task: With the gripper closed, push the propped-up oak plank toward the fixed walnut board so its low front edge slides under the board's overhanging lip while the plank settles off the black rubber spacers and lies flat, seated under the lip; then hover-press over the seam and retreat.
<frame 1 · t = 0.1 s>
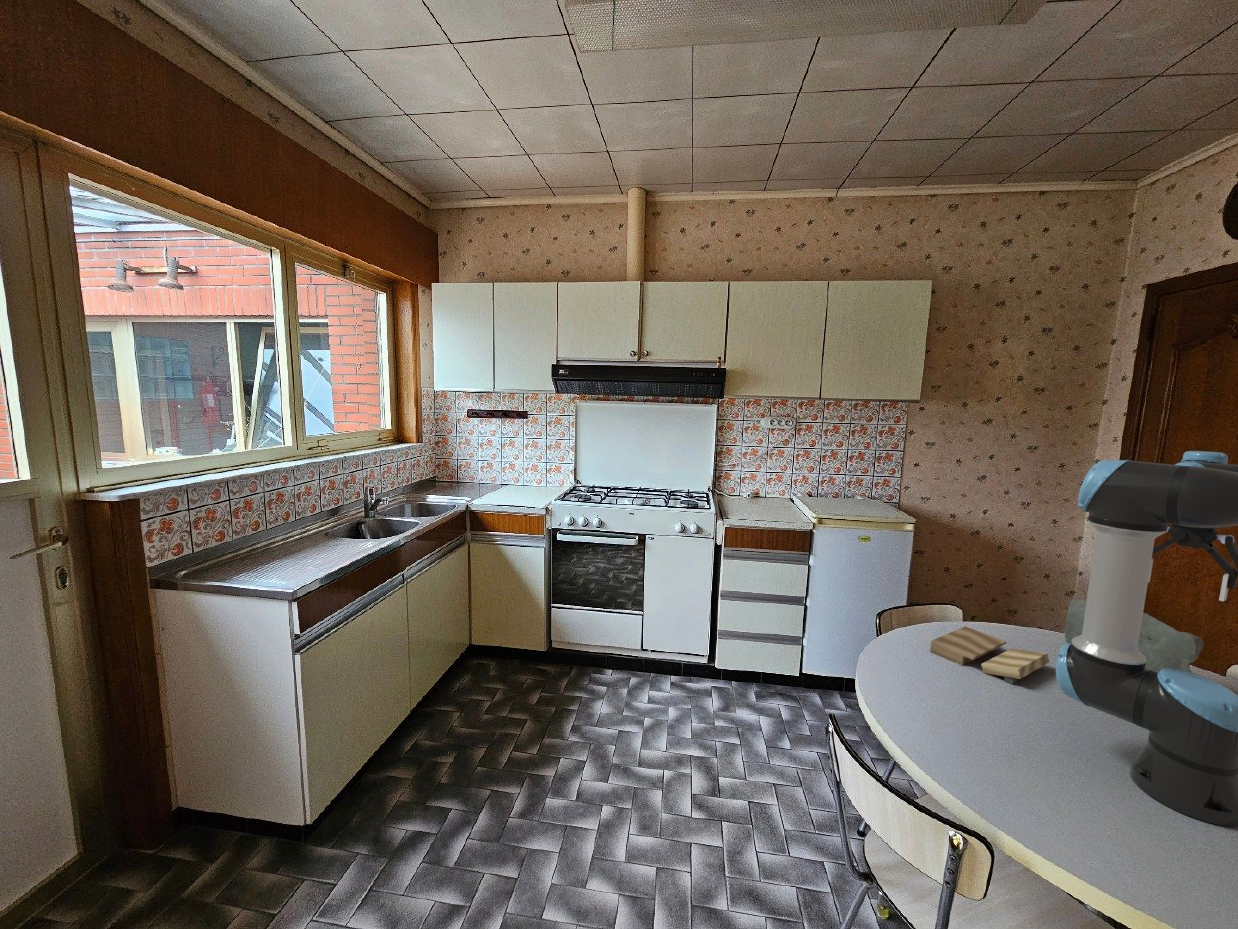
hand: (1182, 590, 131), 28 cm above the table, fingers open, 13 cm apart
rock: (1123, 674, 142), on the table
plank: (1014, 671, 143), on the table, touching spacers
spacers: (1022, 674, 141), on the table
board: (963, 650, 155), on the table
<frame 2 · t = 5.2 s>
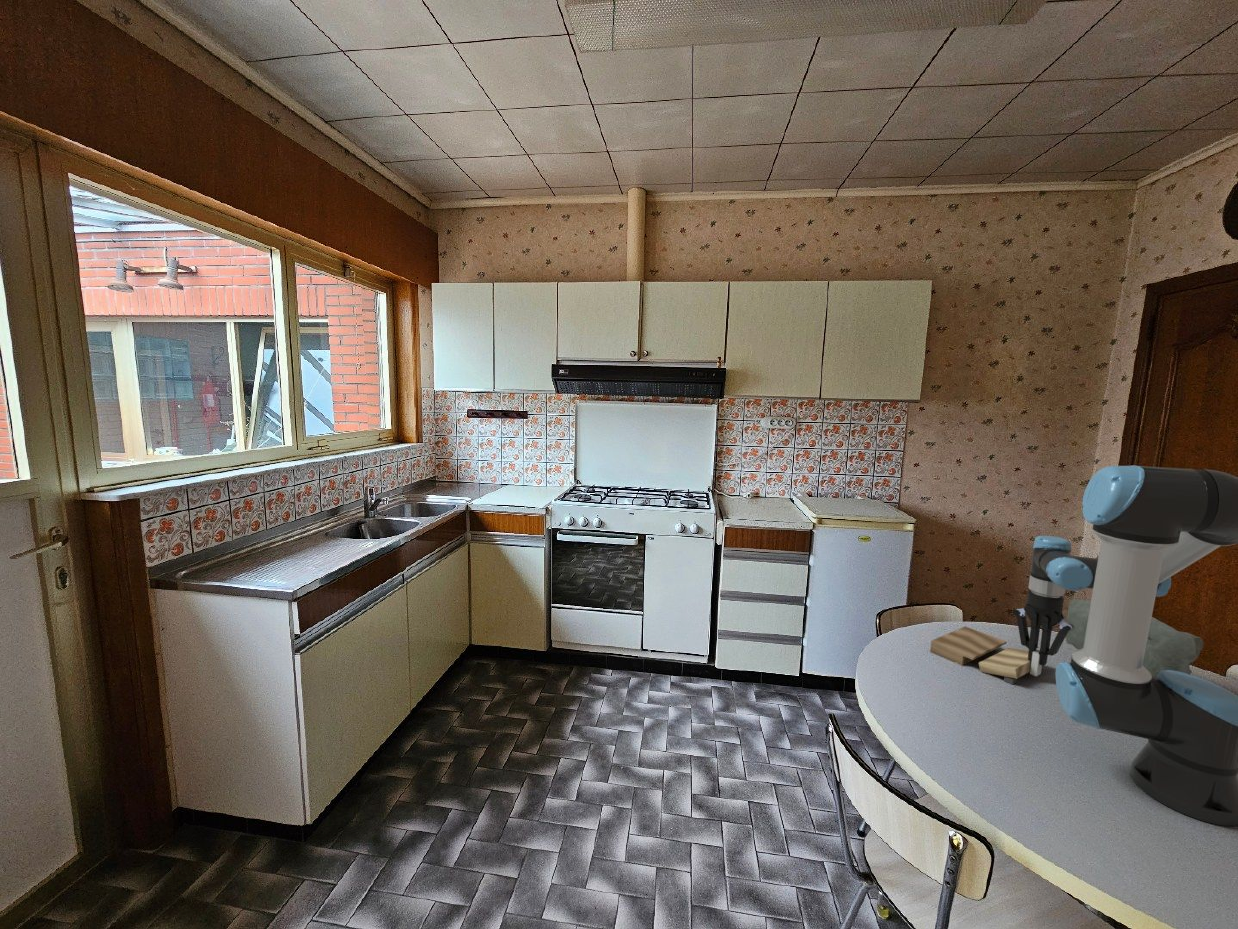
hand: (1035, 673, 139), 2 cm above the table, fingers closed
plank: (1011, 670, 144), on the table, touching gripper
everything else where it was.
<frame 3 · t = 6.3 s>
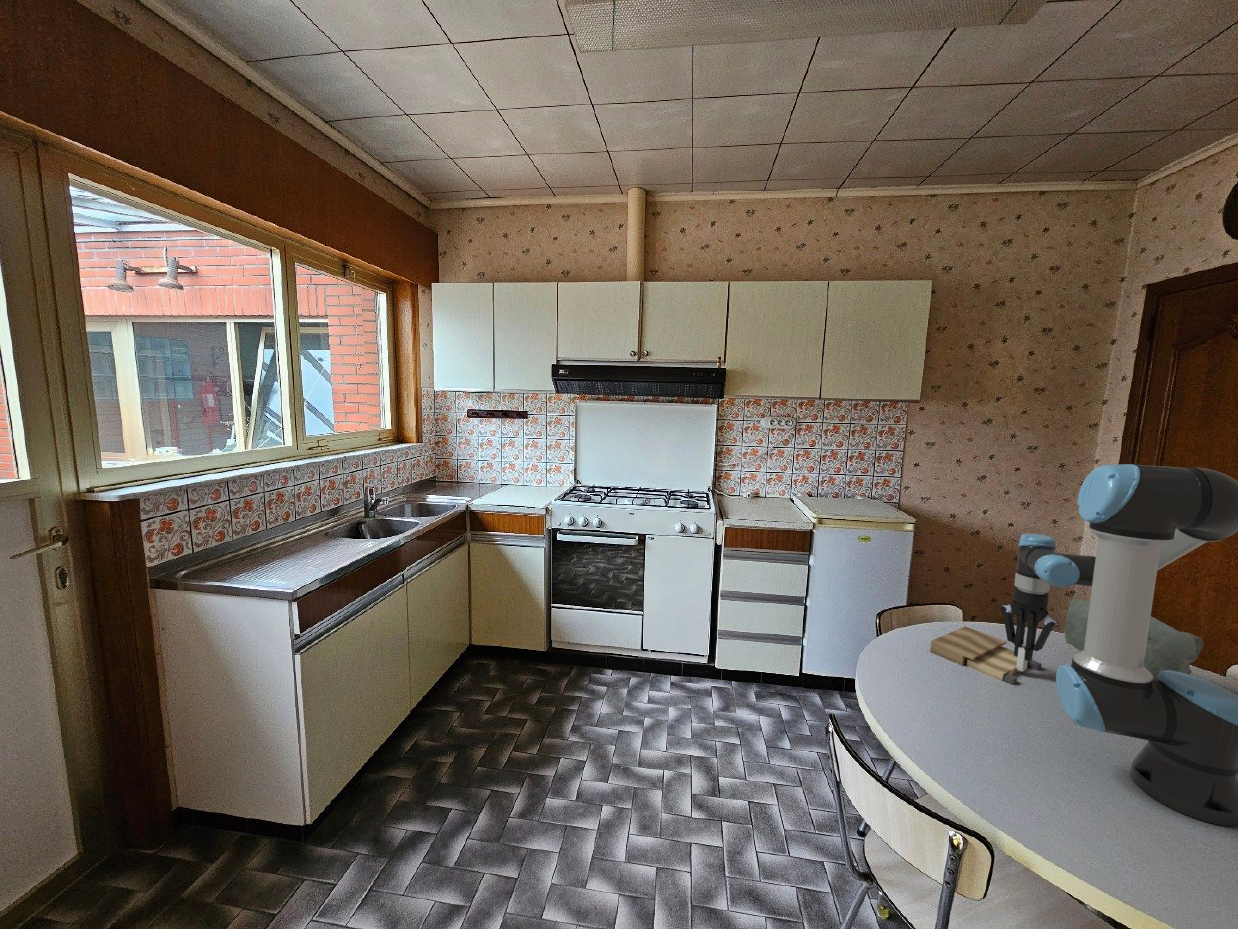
hand: (1021, 669, 142), 1 cm above the table, fingers closed
plank: (995, 669, 147), on the table, tilted 17°
everything else where it was.
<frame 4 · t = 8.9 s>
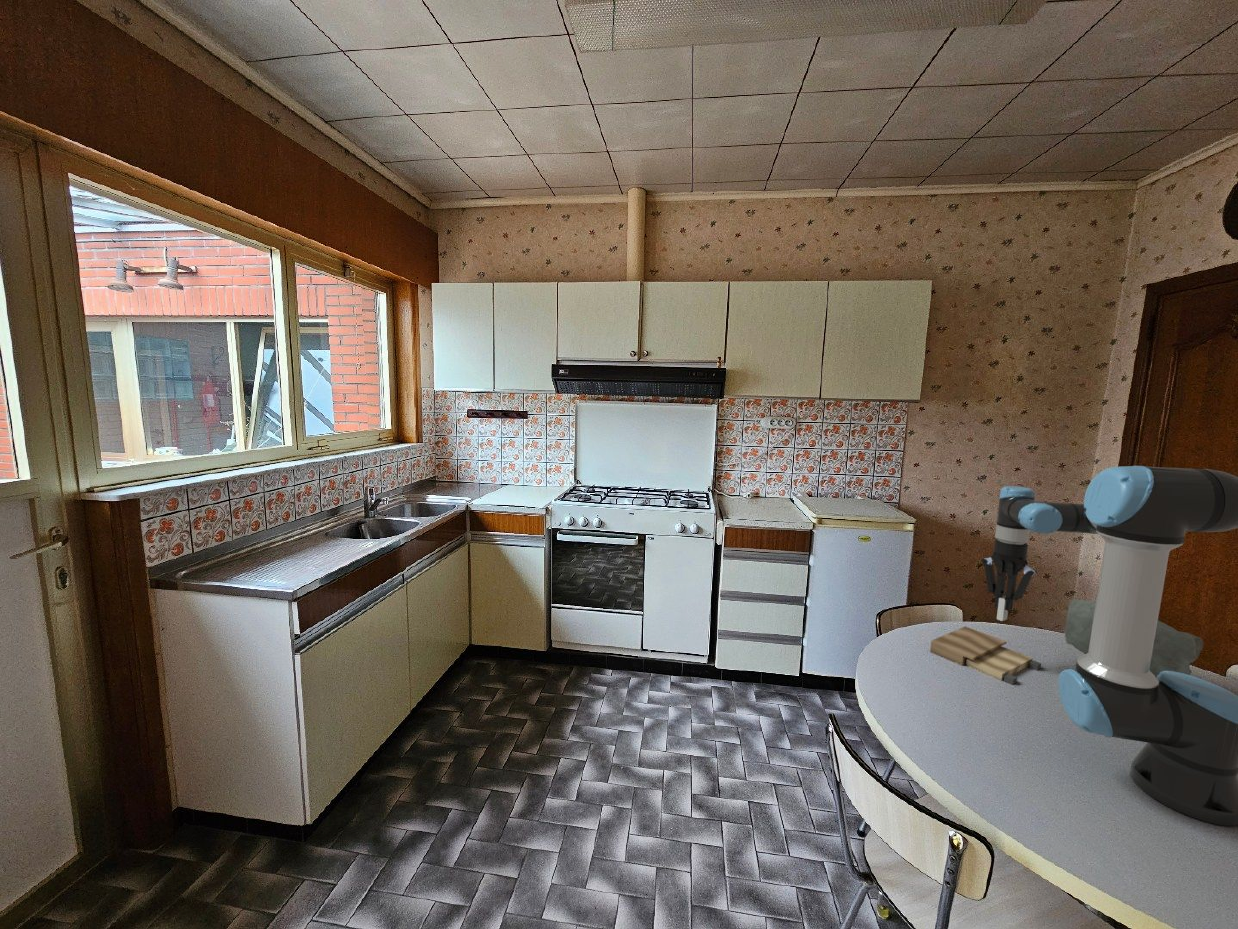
hand: (1001, 619, 145), 14 cm above the table, fingers closed
nothing on the table moved.
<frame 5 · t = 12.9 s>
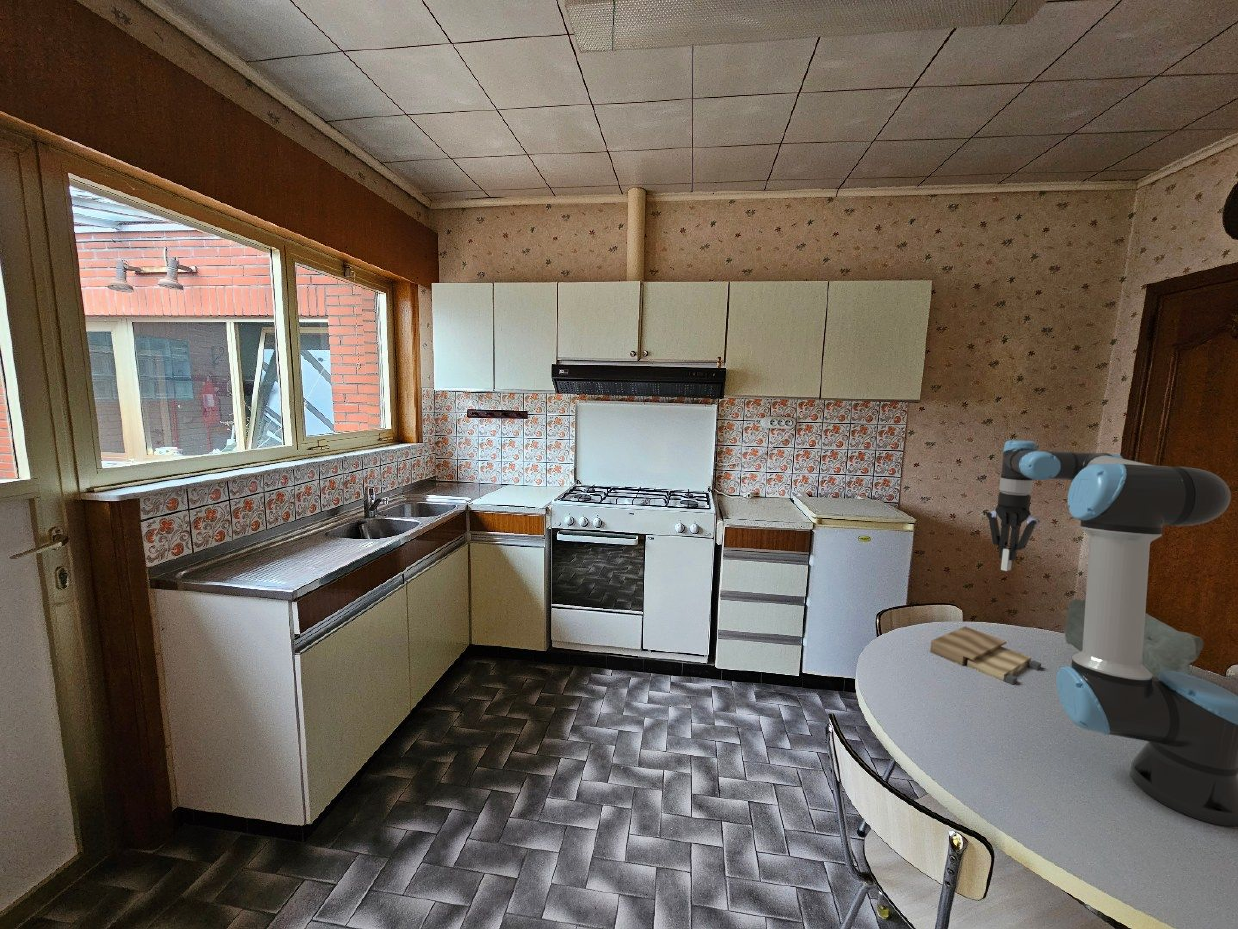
hand: (1005, 569, 150), 26 cm above the table, fingers closed
nothing on the table moved.
at the end: plank inside the target area (0.4 cm from its centre), on the table; plank tilted 17° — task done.
